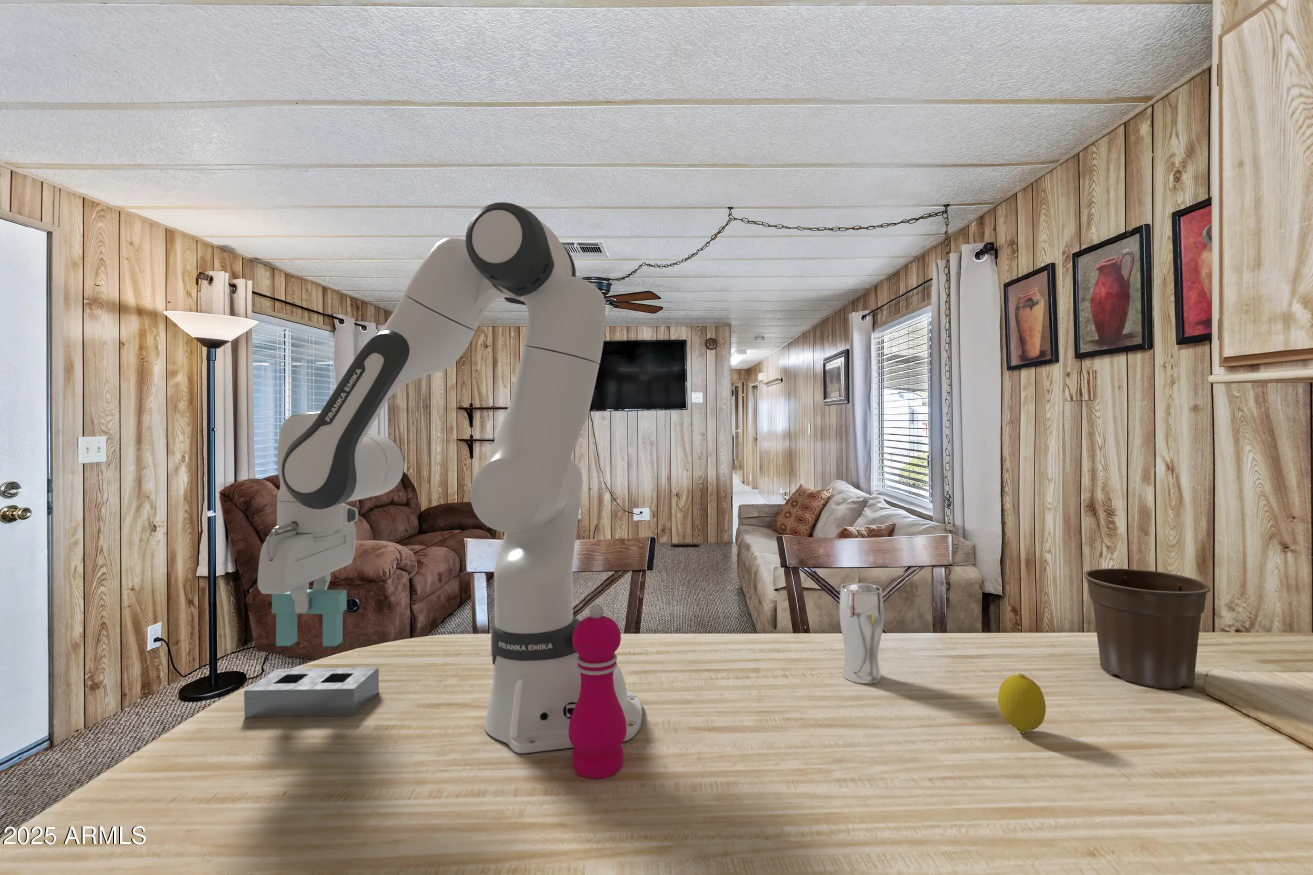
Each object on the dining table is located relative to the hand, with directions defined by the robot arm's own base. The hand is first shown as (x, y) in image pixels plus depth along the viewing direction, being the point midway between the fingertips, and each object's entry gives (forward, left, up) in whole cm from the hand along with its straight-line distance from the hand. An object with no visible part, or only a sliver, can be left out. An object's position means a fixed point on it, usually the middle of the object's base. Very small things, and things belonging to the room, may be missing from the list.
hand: (310, 607), depth 92 cm
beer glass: (-87, -7, -15) cm, 89 cm away
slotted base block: (0, 0, -15) cm, 15 cm away
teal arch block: (0, 0, -6) cm, 6 cm away
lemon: (-102, +12, -15) cm, 104 cm away
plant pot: (-134, -6, -15) cm, 135 cm away
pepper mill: (-45, +18, -15) cm, 51 cm away
